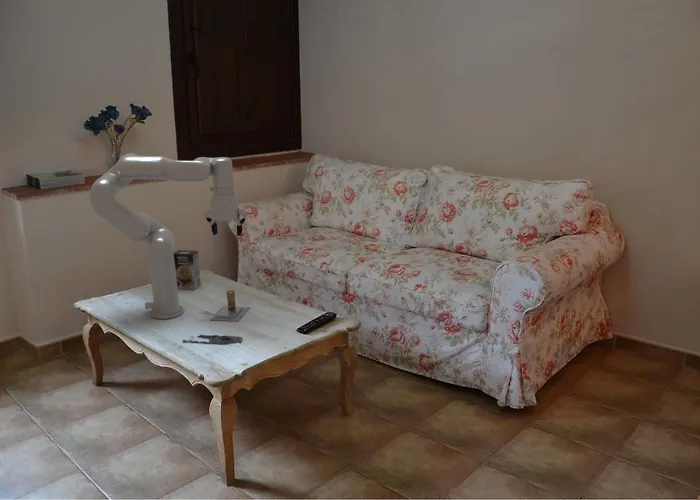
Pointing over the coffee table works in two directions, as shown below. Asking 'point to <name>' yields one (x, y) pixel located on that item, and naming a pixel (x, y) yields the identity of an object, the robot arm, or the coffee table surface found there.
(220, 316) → the trowel
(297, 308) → the coffee table surface
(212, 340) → the driftwood
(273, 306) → the coffee table surface
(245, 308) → the mat
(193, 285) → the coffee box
